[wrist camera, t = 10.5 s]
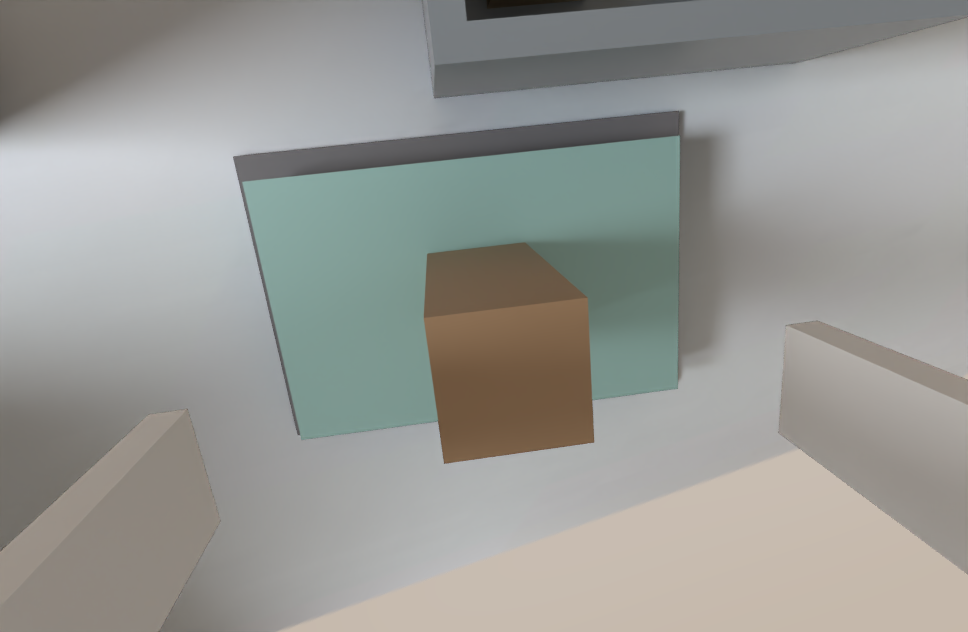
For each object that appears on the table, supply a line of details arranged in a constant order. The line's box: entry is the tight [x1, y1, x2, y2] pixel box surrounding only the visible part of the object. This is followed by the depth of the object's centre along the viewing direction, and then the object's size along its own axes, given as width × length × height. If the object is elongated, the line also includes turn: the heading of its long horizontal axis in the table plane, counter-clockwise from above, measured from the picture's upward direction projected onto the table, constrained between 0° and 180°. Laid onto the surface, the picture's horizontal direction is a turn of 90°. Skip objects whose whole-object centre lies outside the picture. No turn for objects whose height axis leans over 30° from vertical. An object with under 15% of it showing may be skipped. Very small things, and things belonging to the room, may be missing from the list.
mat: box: [233, 111, 679, 435], centre depth 24 cm, size 19×13×1 cm
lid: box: [242, 136, 680, 464], centre depth 19 cm, size 17×11×11 cm, turn 96°
